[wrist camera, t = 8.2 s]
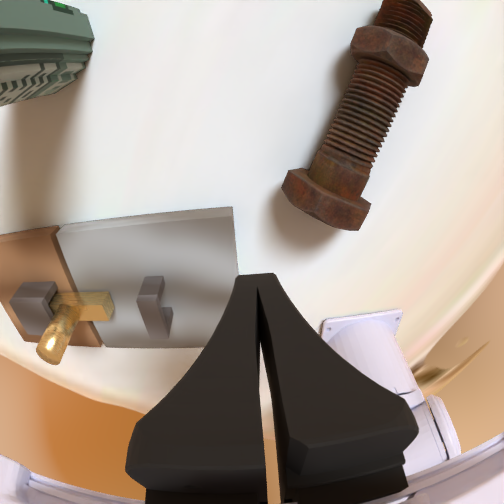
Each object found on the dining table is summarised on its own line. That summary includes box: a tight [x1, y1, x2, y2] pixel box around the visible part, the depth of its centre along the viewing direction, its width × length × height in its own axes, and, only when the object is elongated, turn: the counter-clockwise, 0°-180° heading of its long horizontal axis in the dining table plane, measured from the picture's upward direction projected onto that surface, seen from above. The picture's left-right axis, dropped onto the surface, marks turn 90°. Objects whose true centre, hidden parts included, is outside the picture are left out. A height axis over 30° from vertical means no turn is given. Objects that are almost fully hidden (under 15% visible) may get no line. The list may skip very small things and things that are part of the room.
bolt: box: [281, 0, 433, 231], centre depth 15 cm, size 6×5×15 cm
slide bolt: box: [36, 291, 114, 365], centre depth 19 cm, size 2×9×6 cm, turn 93°
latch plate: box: [0, 207, 239, 348], centre depth 22 cm, size 12×24×4 cm, turn 93°
